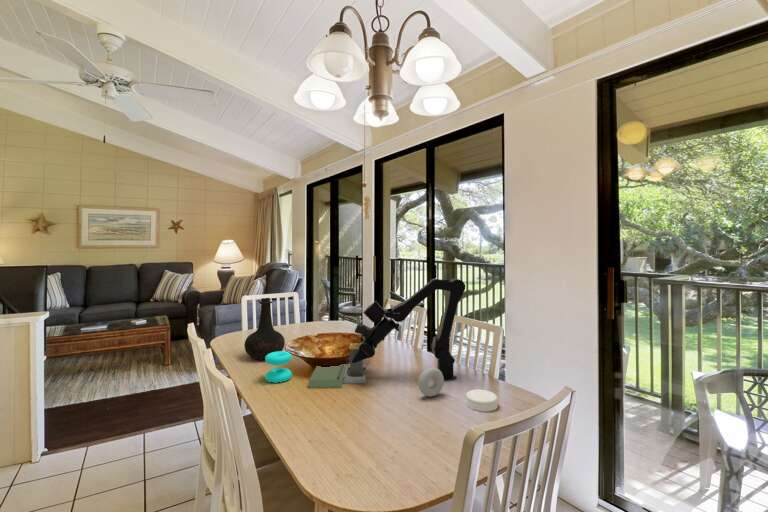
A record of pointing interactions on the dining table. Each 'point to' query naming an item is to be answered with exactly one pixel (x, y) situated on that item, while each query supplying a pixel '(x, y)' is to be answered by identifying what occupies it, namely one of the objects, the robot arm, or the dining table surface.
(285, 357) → the donuts
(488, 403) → the white round disc
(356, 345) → the grey tan rectangular block
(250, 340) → the dark bulbous vase
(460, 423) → the dining table surface
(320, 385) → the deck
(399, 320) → the robot arm
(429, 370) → the donut
